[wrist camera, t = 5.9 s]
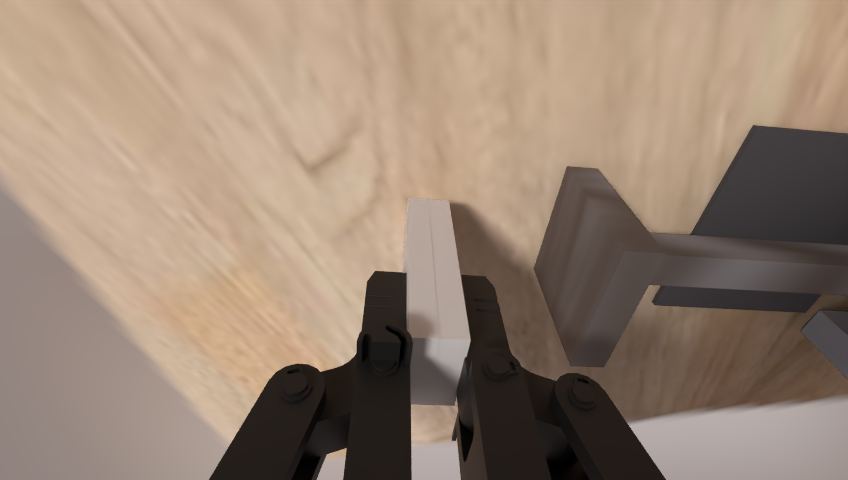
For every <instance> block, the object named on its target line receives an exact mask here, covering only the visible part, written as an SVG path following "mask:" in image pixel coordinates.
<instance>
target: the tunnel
mask: <svg viewBox="0 0 848 480" xmlns="http://www.w3.org/2000/svg"><path fill="white" fill-rule="evenodd" d="M801 332H802V334H803V335H804V336H805V337H806V338H807V339H808V340H809V341H810V342H811V343H812V344H813V345H814V346H815V347H816V348H817V349H818V350H819V351H820V352H821V353H822V354H823V355H824V356H825V357H826V358H827V359H828V360H829V361H830V362H831V363H832V364H833V365H834V366H835V367H836V368H837V369H838V370H839V371H840V372H841V373H842V374H843V375H844V376H845V377H846V378H847V379H848V311H829V310H819V311H818V313H817V314H816V315H815V316H814V317H813V318H812V319H811V320H810V321H809V322H808V324H807V325H806V326H805V327H804V328H803V329H802V330H801Z"/></svg>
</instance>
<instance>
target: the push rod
mask: <svg viewBox="0 0 848 480" xmlns="http://www.w3.org/2000/svg"><path fill="white" fill-rule="evenodd" d="M534 270H535V273H536V276H537V278H538V281H539V284H540V286H541V289H542V292H543V294H544V297H545V300H546V302H547V305H548V308H549V310H550V313H551V316H552V318H553V321H554V324H555V326H556V329H557V332H558V334H559V337H560V340H561V342H562V345H563V348H564V350H565V353H566V356H567V358H568V361H569V364H570V366H587V367H604V366H605V364H606V362H607V360H608V359H609V357H610V355H611V353H612V351H613V350H614V348H615V346H616V344H617V342H618V340H619V339H620V337H621V335H622V333H623V331H624V330H625V328H626V326H627V324H628V322H629V320H630V319H631V317H632V315H633V313H634V311H635V310H636V308H637V306H638V304H639V302H640V300H641V299H642V297H643V295H644V293H645V291H646V290H647V288H648V286H649V285H663V286H682V287H700V288H719V289H738V290H757V291H775V292H794V293H813V294H832V295H848V245H836V244H821V243H805V242H789V241H774V240H758V239H743V238H727V237H711V236H696V235H680V234H665V233H649V232H648V230H647V229H646V228H645V227H644V225H643V224H642V223H641V222H640V220H639V219H638V218H637V217H636V216H635V214H634V213H633V212H632V211H631V209H630V208H629V207H628V206H627V204H626V203H625V202H624V201H623V199H622V198H621V197H620V196H619V194H618V193H617V192H616V191H615V189H614V188H613V187H612V186H611V184H610V183H609V182H608V181H607V179H606V178H605V177H604V176H603V174H602V173H601V172H600V171H599V170H598V169H595V168H582V167H569V166H567V168H566V171H565V174H564V177H563V180H562V184H561V187H560V190H559V193H558V196H557V199H556V202H555V205H554V208H553V211H552V214H551V217H550V220H549V223H548V227H547V230H546V233H545V236H544V239H543V242H542V245H541V248H540V251H539V254H538V257H537V260H536V263H535V266H534Z"/></svg>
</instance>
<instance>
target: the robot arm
mask: <svg viewBox="0 0 848 480" xmlns="http://www.w3.org/2000/svg"><path fill="white" fill-rule="evenodd" d="M456 397H457V402H458V415H457V418H456V422H455V426H454V430H453V435H452V441H456V438H457V442H458V453H459V463H460V474H461V480H666V479H665V478H664V476H663V475H662V473H661V472H660V470H659V469H658V467H657V466H656V465H655V463H654V462H653V460H652V459H651V457H650V456H649V454H648V453H647V452H646V450H645V449H644V447H643V446H642V444H641V443H640V442H639V440H638V439H637V437H636V436H635V434H634V433H633V431H632V430H631V428H630V427H629V425H628V424H627V422H626V421H625V420H624V418H623V417H622V415H621V414H620V412H619V411H618V409H617V408H616V406H615V405H614V404H613V402H612V401H611V399H610V398H609V396H608V395H607V393H606V392H605V391H604V390H603V389H602V387H601V386H600V385H599V384H598V383H597V382H595V381H594V380H592V379H590V378H589V377H587V376H584V375H581V374H578V373H567V374H565V375H563V376H560V377H559V379H558V380H557V381H554V380H551V379H548V378H545V377H541V376H538V375H536V374H533V373H531V372H529V371H527V370H526V369H524V368H523V367H521V365H520V363H519V361H518V360H517V359H516V358H515V357H514V356H513V355H512V354H511V352H510V349H509V345H508V341H507V337H506V333H505V329H504V324H503V320H502V316H501V313H500V308H499V304H498V303H497V296H496V292H495V288H494V287H493V285H492V284H491V283H490V282H489V280H488V279H487V278H486V276H470V275H460V269H459V262H458V256H457V249H456V243H455V237H454V230H453V224H452V217H451V211H450V205H449V201H447V200H433V199H419V198H408V205H407V216H406V226H405V237H404V247H403V268H402V273H401V272H384V271H375V272H374V273H373V275H372V276H371V277H370V279H369V280H368V281H367V288H366V297H365V307H364V315H363V323H362V331H361V332H360V334H359V337H358V339H357V353H356V355H355V356H354V357H353V358H352V359H351V360H350V361H349V362H348V363H346V364H344V365H343V366H340V367H337V368H334V369H330V370H326V371H322V372H320V371H319V370H318V369H317V368H315V367H312V366H310V365H308V364H294V365H290V366H286V367H284V368H283V369H281V370H279V371H277V372H276V373H275V374H274V375H273V376H272V378H271V379H270V380H269V381H268V383H267V384H266V386H265V388H264V389H263V391H262V393H261V394H260V396H259V398H258V399H257V401H256V403H255V404H254V406H253V408H252V409H251V411H250V413H249V414H248V416H247V418H246V419H245V421H244V423H243V424H242V426H241V428H240V429H239V431H238V432H237V434H236V436H235V437H234V439H233V441H232V442H231V444H230V446H229V447H228V449H227V451H226V452H225V454H224V456H223V458H222V459H221V461H220V462H219V464H218V466H217V467H216V469H215V471H214V473H213V474H212V476H211V477H210V479H209V480H316V479H317V477H318V474H319V472H320V469H321V467H322V464H323V462H324V459H325V457H326V454H329V453H332V452H335V451H338V450H341V449H344V448H347V452H346V460H345V469H344V478H343V480H411V404H420V405H452V406H454V405H455V401H456Z"/></svg>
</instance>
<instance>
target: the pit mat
mask: <svg viewBox="0 0 848 480" xmlns="http://www.w3.org/2000/svg"><path fill="white" fill-rule="evenodd" d="M691 235H696V236H711V237H727V238H743V239H758V240H774V241H789V242H805V243H821V244H836V245H848V134H845V133H834V132H822V131H811V130H800V129H789V128H777V127H766V126H755V125H753V127H752V129H751V130H750V132H749V134H748V136H747V137H746V139H745V141H744V143H743V144H742V146H741V148H740V150H739V151H738V153H737V155H736V157H735V158H734V160H733V162H732V164H731V165H730V167H729V169H728V171H727V172H726V174H725V176H724V177H723V179H722V181H721V183H720V184H719V186H718V188H717V190H716V191H715V193H714V195H713V197H712V198H711V200H710V202H709V204H708V205H707V207H706V209H705V211H704V212H703V214H702V216H701V218H700V219H699V221H698V223H697V225H696V226H695V228H694V230H693V231H692V233H691ZM820 296H821V294H813V293H794V292H775V291H757V290H738V289H719V288H700V287H682V286H663V285H661V287H660V289H659V291H658V292H657V294H656V296H655V298H654V299H653V301H652V302H653V304H654V305H661V306H681V307H702V308H722V309H742V310H763V311H783V312H804V313H805V312H806V311H807V310H808V309H809V308H810V307H811V306H812V305H813V303H814V302H815V301H816V300H817V299H818V298H819V297H820Z"/></svg>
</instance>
